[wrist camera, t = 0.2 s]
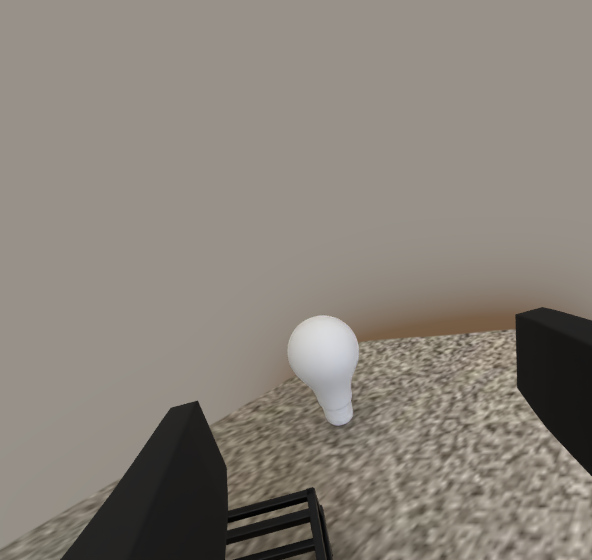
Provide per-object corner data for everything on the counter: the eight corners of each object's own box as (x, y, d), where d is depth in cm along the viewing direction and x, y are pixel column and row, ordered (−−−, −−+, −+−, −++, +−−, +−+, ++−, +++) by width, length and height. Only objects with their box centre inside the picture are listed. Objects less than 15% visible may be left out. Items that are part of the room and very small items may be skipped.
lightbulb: (342, 459, 34) (312, 349, 30) (296, 427, 39) (265, 329, 35) (388, 415, 37) (367, 311, 33) (340, 391, 42) (317, 297, 38)
